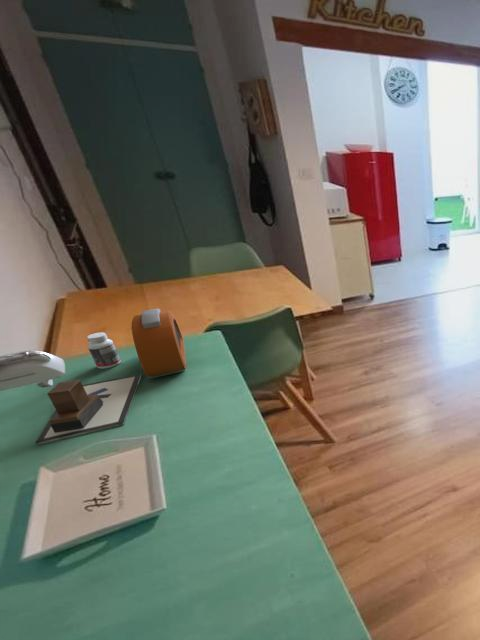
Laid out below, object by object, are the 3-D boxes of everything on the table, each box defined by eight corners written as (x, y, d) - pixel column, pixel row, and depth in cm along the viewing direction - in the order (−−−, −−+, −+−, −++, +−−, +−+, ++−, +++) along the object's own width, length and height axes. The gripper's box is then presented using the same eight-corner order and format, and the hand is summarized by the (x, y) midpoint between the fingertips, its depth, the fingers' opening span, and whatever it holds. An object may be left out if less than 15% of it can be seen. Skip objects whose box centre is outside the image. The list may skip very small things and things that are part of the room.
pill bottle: (93, 366, 123) (79, 336, 118) (115, 358, 127) (102, 329, 123) (103, 370, 121) (89, 340, 116) (125, 362, 125) (112, 333, 121)
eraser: (83, 428, 97) (67, 395, 93) (54, 433, 95) (36, 400, 91) (103, 404, 105) (88, 374, 101) (76, 408, 103) (61, 377, 99)
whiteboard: (36, 445, 92) (34, 443, 92) (70, 389, 112) (69, 387, 112) (124, 424, 99) (123, 422, 99) (141, 375, 119) (140, 373, 119)
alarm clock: (188, 375, 120) (169, 322, 113) (148, 384, 115) (126, 329, 108) (185, 344, 137) (169, 297, 129) (150, 351, 132) (131, 302, 125)
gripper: (36, 335, 76) (82, 361, 88) (-132, 368, 68) (-56, 392, 80) (39, 366, 75) (85, 388, 87) (-133, 404, 66) (-55, 422, 78)
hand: (16, 390), depth 83 cm, fingers open, 8 cm apart
